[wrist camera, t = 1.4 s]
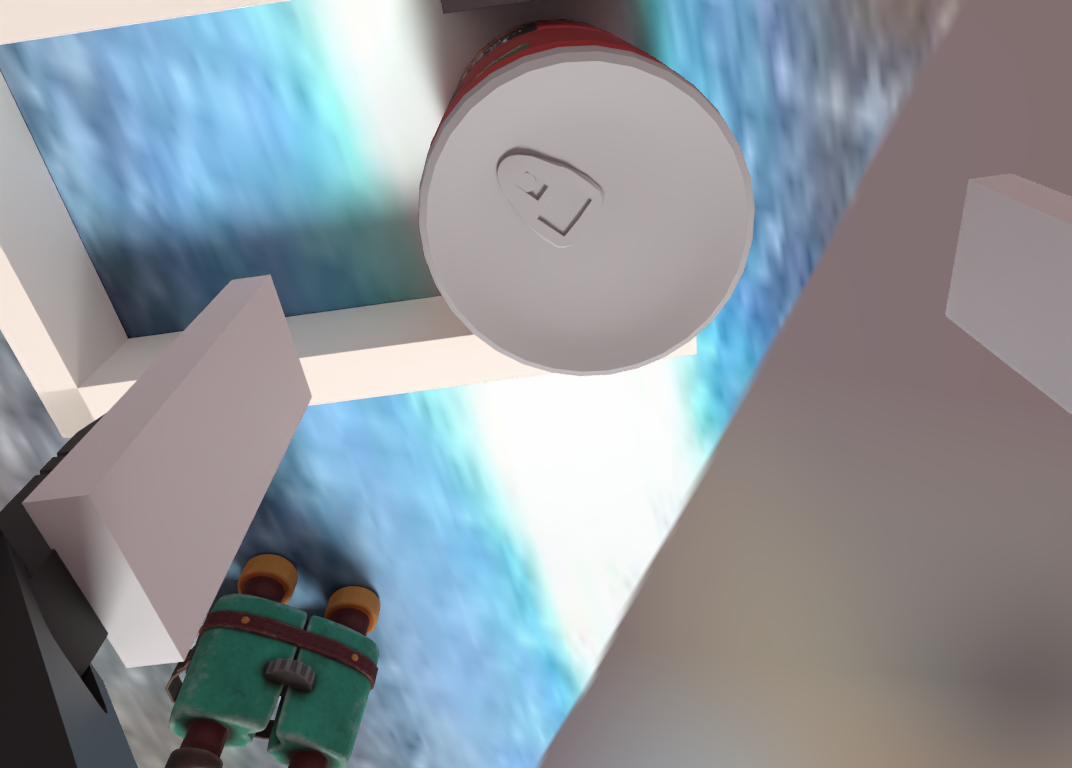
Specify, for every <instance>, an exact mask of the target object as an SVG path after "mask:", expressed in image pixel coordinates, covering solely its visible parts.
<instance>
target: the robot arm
mask: <svg viewBox="0 0 1072 768" xmlns="http://www.w3.org/2000/svg"><path fill="white" fill-rule="evenodd" d="M945 316H946V317H948V318H949V319H950V320H951V321H953V322H954V323H955V324H956V325H958V326H959V327H960V328H962V329H963V330H964V331H965V332H967V333H968V334H969V335H971V336H972V337H973V338H975V339H976V340H977V341H978V342H980V343H981V344H982V345H983V346H985V347H986V348H987V349H988V350H990V351H991V352H992V353H994V354H995V355H996V356H997V357H999V358H1000V359H1001V360H1003V361H1004V362H1005V363H1006V364H1008V365H1009V366H1010V367H1011V368H1013V369H1014V370H1015V371H1017V372H1018V373H1019V374H1021V375H1022V376H1023V377H1024V378H1026V379H1027V380H1028V381H1029V382H1031V383H1032V384H1033V385H1035V386H1036V387H1037V388H1038V389H1040V390H1041V391H1042V392H1044V393H1045V394H1046V395H1047V396H1049V397H1050V398H1051V399H1053V400H1054V401H1055V402H1056V403H1057V404H1059V405H1060V406H1061V407H1063V408H1064V409H1065V410H1066V411H1068V412H1069V413H1070V414H1072V197H1070V196H1068V195H1065V194H1062V193H1060V192H1057V191H1055V190H1052V189H1050V188H1047V187H1045V186H1042V185H1040V184H1037V183H1034V182H1032V181H1029V180H1027V179H1024V178H1022V177H1019V176H1017V175H1014V174H1005V175H997V176H990V177H982V178H975V179H969V181H968V187H967V193H966V199H965V204H964V210H963V216H962V221H961V227H960V233H959V239H958V244H957V250H956V256H955V262H954V267H953V273H952V279H951V285H950V291H949V296H948V302H947V308H946V314H945ZM311 398H312V395H311V392H310V389H309V386H308V383H307V380H306V377H305V374H304V371H303V368H302V365H301V363H300V360H299V357H298V354H297V351H296V348H295V345H294V342H293V339H292V336H291V333H290V330H289V327H288V324H287V321H286V318H285V315H284V313H283V310H282V307H281V304H280V301H279V298H278V295H277V292H276V289H275V286H274V283H273V280H272V277H271V275H263V276H256V277H249V278H241V279H234V280H231V281H230V282H229V283H228V284H227V285H226V286H225V287H224V288H223V290H222V291H221V292H220V293H219V294H218V295H217V296H216V297H215V298H214V299H213V300H212V301H211V302H210V303H209V304H208V305H207V307H206V308H205V309H204V310H203V311H202V312H201V313H200V314H199V315H198V316H197V317H196V318H195V319H194V320H193V321H192V322H191V324H190V325H189V326H188V327H187V328H186V329H185V330H184V331H183V332H182V333H181V334H180V335H179V336H178V337H177V338H176V340H175V341H174V342H173V343H172V344H171V345H170V346H169V347H168V348H167V349H166V350H165V351H164V352H163V353H162V354H161V355H160V357H159V358H158V359H157V360H156V361H155V362H154V363H153V364H152V365H151V366H150V367H149V368H148V369H147V370H146V371H145V372H144V374H143V375H142V376H141V377H140V378H139V379H138V380H137V381H136V382H135V383H134V384H133V385H132V386H131V387H130V388H129V389H128V391H127V392H126V393H125V394H124V395H123V396H122V397H121V398H120V399H119V400H118V401H117V402H116V403H115V404H114V405H113V406H112V408H111V409H110V410H109V411H108V412H107V413H105V414H104V415H102V416H101V417H99V418H98V419H96V420H95V421H93V422H92V423H90V424H89V425H87V426H86V427H84V428H83V429H81V430H79V431H78V432H77V433H76V434H75V435H74V436H73V437H72V438H71V439H70V440H69V441H68V442H67V443H66V444H65V445H64V446H63V447H62V448H61V449H60V450H59V451H58V453H57V457H53V458H52V459H51V460H50V461H49V462H48V463H47V464H46V465H45V466H44V467H43V468H42V469H41V470H40V475H35V476H34V477H33V478H32V479H31V480H30V482H29V483H28V484H27V485H26V486H25V487H24V488H23V489H22V490H21V491H20V492H19V493H18V494H17V495H16V496H15V497H14V498H13V499H12V500H11V501H10V502H9V503H8V504H7V505H6V506H5V507H4V508H3V510H2V511H1V512H0V768H138V767H137V764H136V762H135V760H134V757H133V755H132V752H131V750H130V747H129V745H128V742H127V740H126V737H125V735H124V732H123V730H122V727H121V725H120V722H119V720H118V717H117V715H116V712H115V710H114V707H113V705H112V702H111V700H110V697H109V695H108V693H107V690H106V688H105V685H104V683H103V680H102V679H101V677H100V676H99V674H98V673H97V671H96V670H95V669H94V667H93V666H92V664H91V661H92V659H93V658H94V656H95V655H96V653H97V651H98V650H99V648H100V647H101V645H102V643H103V642H104V640H105V639H106V637H107V638H108V639H109V641H110V642H111V644H112V646H113V647H114V649H115V650H116V652H117V653H118V655H119V657H120V658H121V660H122V661H123V663H124V664H125V666H126V668H130V667H139V666H148V665H157V664H165V663H174V662H183V661H185V659H186V656H187V654H188V652H189V650H190V648H191V646H192V644H193V642H194V640H195V638H196V636H197V634H198V632H199V630H200V628H201V625H202V623H203V621H204V619H205V617H206V615H207V613H208V611H209V609H210V607H211V605H212V603H213V601H214V599H215V597H216V595H217V592H218V590H219V588H220V586H221V584H222V582H223V580H224V578H225V576H226V574H227V572H228V570H229V568H230V566H231V564H232V561H233V559H234V557H235V555H236V553H237V551H238V549H239V547H240V545H241V543H242V541H243V539H244V537H245V535H246V533H247V530H248V528H249V526H250V524H251V522H252V520H253V518H254V516H255V514H256V512H257V510H258V508H259V506H260V504H261V502H262V500H263V497H264V495H265V493H266V491H267V489H268V487H269V485H270V483H271V481H272V479H273V477H274V475H275V473H276V471H277V469H278V466H279V464H280V462H281V460H282V458H283V456H284V454H285V452H286V450H287V448H288V446H289V444H290V442H291V440H292V438H293V435H294V433H295V431H296V429H297V427H298V425H299V423H300V421H301V419H302V417H303V415H304V413H305V411H306V409H307V407H308V405H309V402H310V400H311Z"/></svg>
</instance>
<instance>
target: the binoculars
mask: <svg viewBox="0 0 1072 768" xmlns="http://www.w3.org/2000/svg"><path fill="white" fill-rule="evenodd" d="M297 580H298V574H297V571H296V569H295V567H294V566H293V564H292V563H291V562H290V561H288V560H287V559H285V558H283V557H281V556H278V555H274V554H263V555H258V556H255V557H253V558H252V559H250V560H249V561H248V562H247V563H246V565H245V567H244V568H243V571H242V573H241V576H240V578H239V581H238V585H237V587H238V592H239V594H238V593H237V594H227V595H224V596H222V597H221V598H219V599H218V601H217V602H216V603H215V605H214V608H213V610H212V611H211V612H210V613H209V615H208V616H207V618H206V620H205V623H204V625H203V626H201V628H200V630H199V636H198V639H197V641H196V645H195V646H194V647H193V648H192V649H190V650H189V652H188V654H187V656H186V659H185V661H183V662H178V664H177V666H176V668H175V670H174V672H173V674H172V676H171V678H170V680H169V682H168V684H167V686H166V688H165V689H166V691H167V693H168V695H169V697H170V699H171V701H172V702H173V703H175V704H174V707H173V710H172V712H171V716H170V720H169V726H168V727H169V729H170V731H171V732H172V733H173V734H175V735H177V736H179V737H181V738H183V739H184V740H183V742H182V744H181V747H180V748H179V749H176V750H174V751H173V752H172V753H171V755H170V757H169V759H168V761H167V764H166V766H165V768H222V766H223V762H222V760H221V759H220V756H221V753H222V750H223V748H224V747H225V748H241V747H245V746H247V745H249V744H250V743H251V742H252V740H253V738H254V737H256V738H261V739H269V743H268V748H267V751H268V753H269V755H270V756H271V757H272V758H273V759H274V760H276V761H277V762H279V763H280V764H283V765H286V766H288V768H345V767H346V765H347V763H348V761H349V758H350V756H351V753H352V750H353V747H354V743H355V740H356V736H357V733H358V729H359V726H360V723H361V719H362V716H363V712H364V709H365V706H366V702H367V699H368V695H369V692H370V691H371V690H372V689H373V687H374V684H375V680H376V675H377V671H378V668H377V662H378V658H379V649H378V647H377V645H376V644H375V643H374V642H373V641H372V640H370V639H369V638H367V637H366V635H367V634H368V633H370V632H371V631H372V630H373V629H374V628H375V626H376V623H377V619H378V615H379V611H380V602H379V599H378V597H377V596H376V595H375V594H374V593H373V592H372V591H370V590H368V589H366V588H363V587H358V586H349V587H344V588H342V589H339V590H338V591H336V592H335V593H334V594H333V595H332V596H331V597H330V599H329V601H328V604H327V608H326V612H325V615H324V618H321V617H318V616H312V617H311V618H310V620H309V623H308V626H307V629H306V631H304V630H303V629H304V626H305V623H306V620H307V613H306V612H304V611H302V610H299V609H296V608H294V607H291V606H288V605H285V604H286V603H287V602H288V601H289V600H290V598H291V597H292V595H293V592H294V589H295V587H296V584H297ZM184 670H186V676H185V679H184V681H183V683H182V682H181V680H180V677H179V674H180V673H182V672H183V671H184ZM279 696H281V700H280V703H279V707H278V710H277V714H276V717H275V720H270V718H271V716H272V714H273V711H274V709H275V706H276V704H277V701H278V699H279Z"/></svg>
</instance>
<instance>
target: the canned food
mask: <svg viewBox="0 0 1072 768" xmlns="http://www.w3.org/2000/svg"><path fill="white" fill-rule="evenodd" d="M754 211H755V208H754V200H753V192H752V184H751V177H750V174H749V171H748V168H747V165H746V162H745V160H744V157H743V154H742V151H741V148H740V145H739V144H738V142H737V140H736V139H735V137H734V135H733V134H732V132H731V131H730V129H729V127H728V126H727V124H726V122H725V121H724V119H723V117H722V116H721V115H720V113H719V112H718V110H717V109H716V108H715V107H714V106H713V105H712V104H711V103H710V101H709V100H708V99H707V98H706V97H705V96H704V95H703V94H702V93H701V92H700V91H699V90H698V89H697V88H696V87H695V86H694V85H693V84H692V83H690V82H689V81H687V80H686V79H685V78H684V77H682V76H681V75H679V74H678V73H676V72H675V71H673V70H672V69H670V68H669V67H667V66H666V65H665V64H663V63H662V62H660V61H659V60H657V59H656V58H654V57H652V56H650V55H648V54H647V53H645V52H643V51H641V50H639V49H638V48H636V47H634V46H632V45H630V44H629V43H627V42H625V41H623V40H621V39H620V38H618V37H616V36H614V35H612V34H610V33H609V32H606V31H604V30H601V29H599V28H596V27H594V26H592V25H589V24H587V23H581V22H575V21H569V20H564V19H563V20H540V21H536V22H533V23H529V24H525V25H521V26H518V27H516V28H514V29H512V30H510V31H508V32H506V33H504V34H502V35H500V36H498V37H497V38H495V39H494V40H493V41H492V42H491V43H489V44H488V45H487V46H486V47H485V48H484V49H482V50H481V51H480V52H479V53H478V54H477V55H476V57H475V58H474V59H473V61H472V62H471V63H470V65H469V66H468V67H467V68H466V70H465V71H464V73H463V75H462V77H461V79H460V81H459V84H458V86H457V88H456V90H455V92H454V94H453V96H452V98H451V101H450V103H449V105H448V107H447V109H446V111H445V114H444V116H443V118H442V120H441V122H440V124H439V127H438V129H437V131H436V133H435V135H434V137H433V140H432V142H431V145H430V149H429V151H428V154H427V158H426V162H425V166H424V170H423V174H422V178H421V182H420V194H419V228H420V234H421V240H422V245H423V251H424V257H425V259H426V262H427V264H428V267H429V270H430V272H431V275H432V277H433V280H434V282H435V285H436V287H437V288H438V290H439V291H440V293H441V295H442V296H443V298H444V299H445V301H446V303H447V304H448V306H449V307H450V309H451V310H452V312H453V313H454V314H455V315H456V316H457V317H458V318H459V319H460V320H461V321H462V322H463V324H464V325H465V326H466V327H467V328H468V329H469V330H470V331H471V332H472V333H473V334H474V335H476V336H477V337H478V338H480V339H481V340H482V341H484V342H485V343H486V344H488V345H489V346H490V347H492V348H493V349H495V350H496V351H498V352H500V353H502V354H504V355H506V356H508V357H510V358H512V359H514V360H516V361H518V362H520V363H522V364H524V365H528V366H531V367H534V368H538V369H541V370H544V371H548V372H551V373H560V374H568V375H577V376H588V375H608V374H614V373H618V372H623V371H627V370H632V369H636V368H639V367H642V366H644V365H647V364H649V363H652V362H654V361H656V360H659V359H661V358H664V357H666V356H667V355H669V354H671V353H672V352H674V351H675V350H677V349H678V348H680V347H682V346H683V345H685V344H686V343H688V342H690V341H691V340H692V339H693V338H694V337H695V336H696V335H697V334H699V333H700V332H701V331H702V330H703V329H704V328H705V327H706V326H707V325H708V324H710V323H711V322H712V321H713V319H714V318H715V317H716V315H717V314H718V313H719V311H720V310H721V309H722V308H723V306H724V305H725V304H726V302H727V301H728V300H729V298H730V297H731V295H732V293H733V291H734V289H735V287H736V285H737V283H738V281H739V279H740V277H741V275H742V273H743V271H744V268H745V265H746V261H747V257H748V254H749V250H750V247H751V243H752V238H753V224H754Z"/></svg>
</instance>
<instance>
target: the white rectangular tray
mask: <svg viewBox="0 0 1072 768" xmlns="http://www.w3.org/2000/svg"><path fill="white" fill-rule="evenodd" d="M283 1H290V0H0V45H2V44H9V43H15V42H22V41H28V40H35V39H42V38H48V37H55V36H61V35H68V34H74V33H81V32H87V31H94V30H100V29H107V28H113V27H120V26H126V25H133V24H140V23H146V22H153V21H159V20H166V19H172V18H179V17H185V16H192V15H198V14H205V13H211V12H218V11H225V10H231V9H238V8H244V7H251V6H257V5H264V4H270V3H277V2H283ZM524 1H531V0H441V3H442V8H443V14H445V13H451V12H458V11H465V10H471V9H478V8H484V7H491V6H498V5H504V4H511V3H518V2H524ZM285 318H286V321H287V324H288V327H289V330H290V333H291V336H292V339H293V342H294V345H295V348H296V351H297V354H298V357H299V360H300V363H301V365H302V368H303V371H304V374H305V377H306V380H307V383H308V386H309V389H310V392H311V395H312V398H311V400H310V402H309V405H308V406H310V405H318V404H325V403H333V402H340V401H348V400H355V399H363V398H371V397H378V396H386V395H393V394H401V393H408V392H416V391H423V390H431V389H438V388H446V387H453V386H461V385H468V384H476V383H483V382H491V381H499V380H506V379H514V378H521V377H529V376H536V375H544V374H551V372H548V371H544V370H541V369H538V368H534V367H531V366H528V365H524V364H522V363H520V362H518V361H516V360H514V359H512V358H510V357H508V356H506V355H504V354H502V353H500V352H498V351H496V350H495V349H493V348H492V347H490V346H489V345H488V344H486V343H485V342H484V341H482V340H481V339H480V338H478V337H477V336H476V335H474V334H473V333H472V332H471V331H470V330H469V329H468V328H467V327H466V326H465V325H464V324H463V322H462V321H461V320H460V319H459V318H458V317H457V316H456V315H455V314H454V313H453V312H452V310H451V309H450V307H449V306H448V304H447V303H446V301H445V299H444V298H443V296H435V297H428V298H421V299H414V300H406V301H399V302H392V303H384V304H377V305H370V306H363V307H355V308H348V309H341V310H333V311H326V312H319V313H312V314H304V315H297V316H290V317H285ZM0 329H1V331H2V333H3V335H4V336H5V338H6V340H7V342H8V343H9V345H10V347H11V348H12V350H13V352H14V354H15V355H16V357H17V359H18V361H19V362H20V364H21V366H22V368H23V369H24V371H25V373H26V374H27V376H28V378H29V380H30V381H31V383H32V385H33V387H34V388H35V390H36V392H37V394H38V395H39V397H40V399H41V400H42V402H43V404H44V406H45V407H46V409H47V411H48V413H49V414H50V416H51V418H52V420H53V421H54V423H55V425H56V426H57V428H58V430H59V432H60V433H61V435H62V437H63V438H69V437H73V436H74V435H75V434H76V433H77V432H78V431H79V430H81V429H83V428H84V427H86V426H87V425H89V424H90V423H92V422H93V421H95V420H96V419H98V418H99V417H101V416H102V415H104V414H105V413H107V412H108V411H109V410H110V409H111V408H112V406H113V405H114V404H115V403H116V402H117V401H118V400H119V399H120V398H121V397H122V396H123V395H124V394H125V393H126V392H127V391H128V389H129V388H130V387H131V386H132V385H133V384H134V383H135V382H136V381H137V380H138V379H139V378H140V377H141V376H142V375H143V374H144V372H145V371H146V370H147V369H148V368H149V367H150V366H151V365H152V364H153V363H154V362H155V361H156V360H157V359H158V358H159V357H160V355H161V354H162V353H163V352H164V351H165V350H166V349H167V348H168V347H169V346H170V345H171V344H172V343H173V342H174V341H175V340H176V338H177V337H178V336H179V335H180V334H181V333H182V332H183V331H181V332H173V333H166V334H159V335H151V336H144V337H137V338H130V339H128V337H127V335H126V333H125V331H124V329H123V327H122V325H121V322H120V320H119V318H118V316H117V314H116V312H115V310H114V308H113V306H112V304H111V302H110V299H109V297H108V295H107V293H106V291H105V289H104V287H103V285H102V283H101V281H100V278H99V276H98V274H97V272H96V270H95V268H94V266H93V264H92V262H91V260H90V258H89V255H88V253H87V251H86V249H85V247H84V245H83V243H82V241H81V239H80V237H79V234H78V232H77V230H76V228H75V226H74V224H73V222H72V220H71V218H70V216H69V214H68V211H67V209H66V207H65V205H64V203H63V201H62V199H61V197H60V195H59V193H58V191H57V188H56V186H55V184H54V182H53V180H52V178H51V176H50V174H49V172H48V170H47V167H46V165H45V163H44V161H43V159H42V157H41V155H40V153H39V151H38V149H37V147H36V144H35V142H34V140H33V138H32V136H31V134H30V132H29V130H28V128H27V126H26V123H25V121H24V119H23V117H22V115H21V113H20V111H19V109H18V107H17V105H16V103H15V100H14V98H13V96H12V94H11V92H10V90H9V88H8V86H7V84H6V82H5V80H4V77H3V75H2V73H1V71H0ZM694 354H697V352H696V336H695V337H694V338H693V339H692V340H691V341H690V342H688V343H686V344H685V345H683V346H682V347H680V348H678V349H677V350H675V351H674V352H672V353H671V354H669V355H667V356H666V357H664V358H672V357H679V356H687V355H694ZM664 358H661V359H664Z"/></svg>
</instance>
